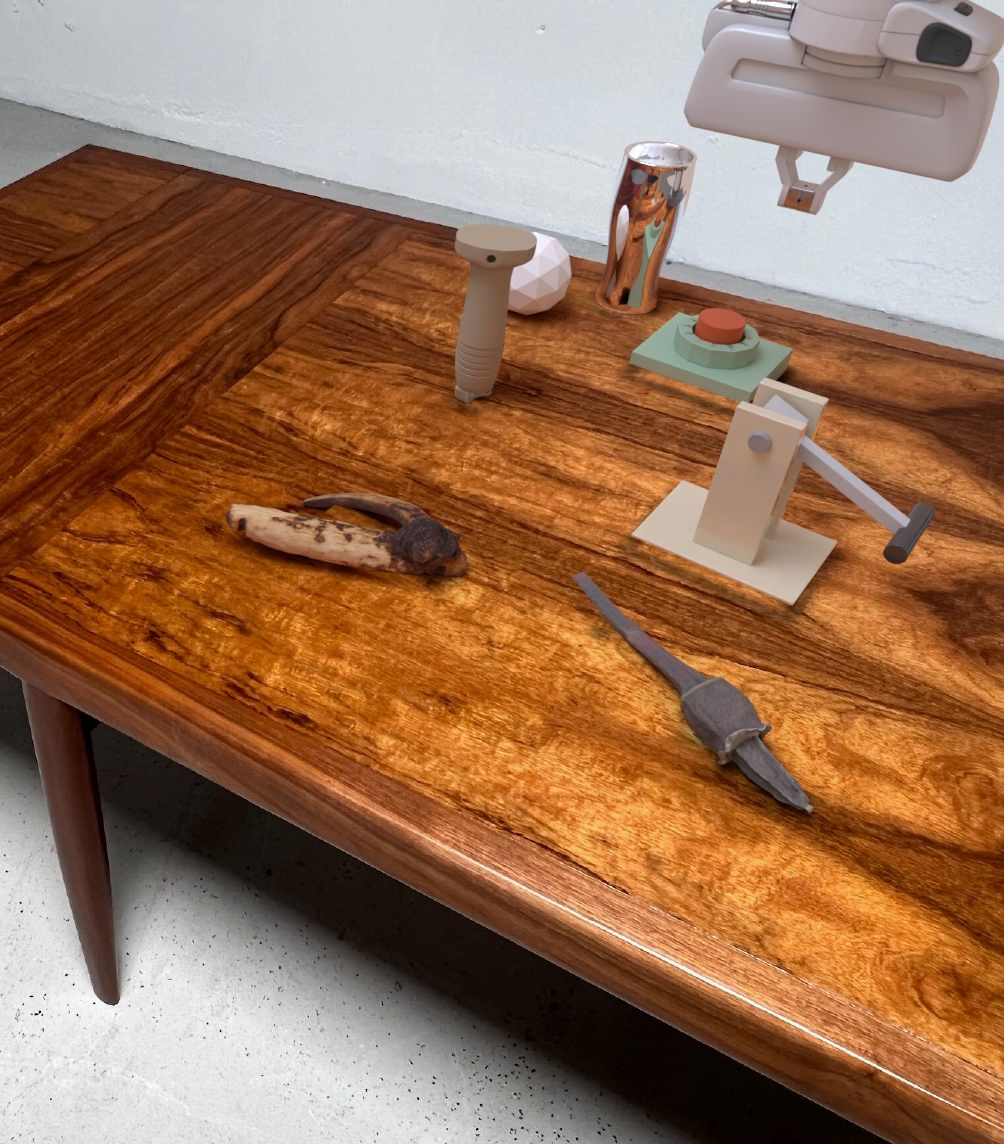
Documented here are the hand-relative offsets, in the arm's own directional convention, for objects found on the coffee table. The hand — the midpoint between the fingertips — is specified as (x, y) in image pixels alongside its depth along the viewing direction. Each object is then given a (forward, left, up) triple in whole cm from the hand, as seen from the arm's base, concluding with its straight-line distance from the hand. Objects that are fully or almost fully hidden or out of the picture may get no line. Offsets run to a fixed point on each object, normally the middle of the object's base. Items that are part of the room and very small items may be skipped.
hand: (798, 208), depth 86 cm
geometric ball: (+23, -5, -19) cm, 30 cm away
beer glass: (+16, -13, -19) cm, 28 cm away
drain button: (+4, -5, -15) cm, 16 cm away
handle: (+18, +13, -19) cm, 29 cm away
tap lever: (-12, +19, -10) cm, 24 cm away
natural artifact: (-11, +35, -19) cm, 41 cm away
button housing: (+4, -5, -18) cm, 20 cm away
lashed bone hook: (+14, +37, -19) cm, 44 cm away
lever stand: (-8, +19, -18) cm, 27 cm away
